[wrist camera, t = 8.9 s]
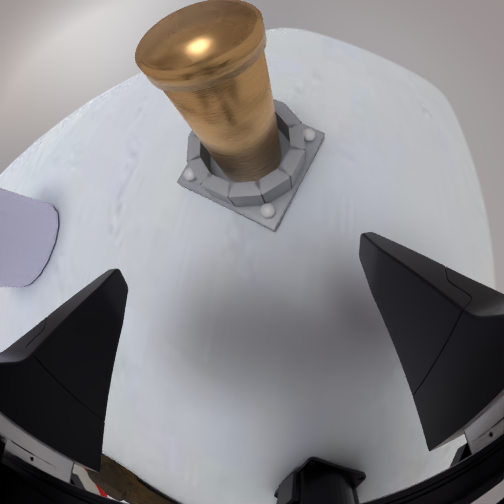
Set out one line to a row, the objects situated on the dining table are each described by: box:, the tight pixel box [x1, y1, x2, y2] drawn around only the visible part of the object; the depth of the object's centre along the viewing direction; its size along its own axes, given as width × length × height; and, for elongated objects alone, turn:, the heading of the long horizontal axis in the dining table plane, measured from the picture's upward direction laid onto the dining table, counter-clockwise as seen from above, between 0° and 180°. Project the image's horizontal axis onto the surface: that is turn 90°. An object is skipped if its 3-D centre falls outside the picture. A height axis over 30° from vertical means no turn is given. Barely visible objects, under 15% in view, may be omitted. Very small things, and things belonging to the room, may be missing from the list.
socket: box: [177, 99, 325, 232], centre depth 20 cm, size 9×9×3 cm
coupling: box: [135, 0, 281, 183], centre depth 14 cm, size 5×5×13 cm
